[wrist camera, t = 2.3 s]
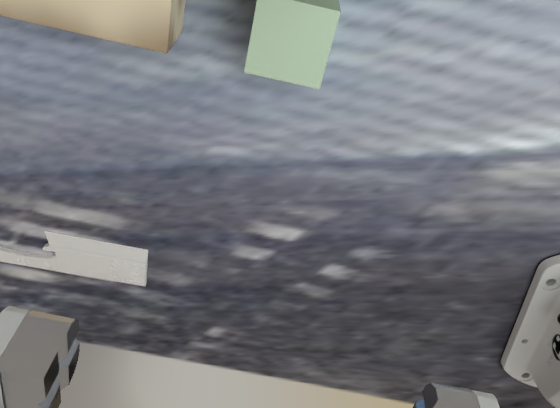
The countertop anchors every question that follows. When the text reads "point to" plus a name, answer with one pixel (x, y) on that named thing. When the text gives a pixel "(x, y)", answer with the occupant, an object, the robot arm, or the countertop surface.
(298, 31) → the sage green cube
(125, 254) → the white plastic strip tool
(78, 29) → the pale maple block
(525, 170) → the countertop surface
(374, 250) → the countertop surface
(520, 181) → the countertop surface
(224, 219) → the countertop surface
